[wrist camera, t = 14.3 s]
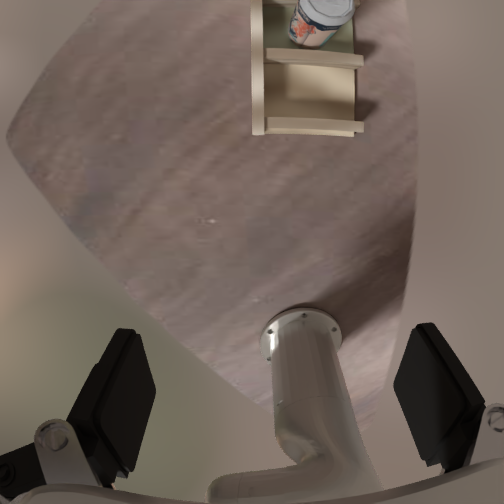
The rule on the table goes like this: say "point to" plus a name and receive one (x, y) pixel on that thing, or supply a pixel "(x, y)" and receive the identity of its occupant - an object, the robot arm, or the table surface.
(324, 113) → the comb rack
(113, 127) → the table surface
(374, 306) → the table surface
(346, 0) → the beer can
